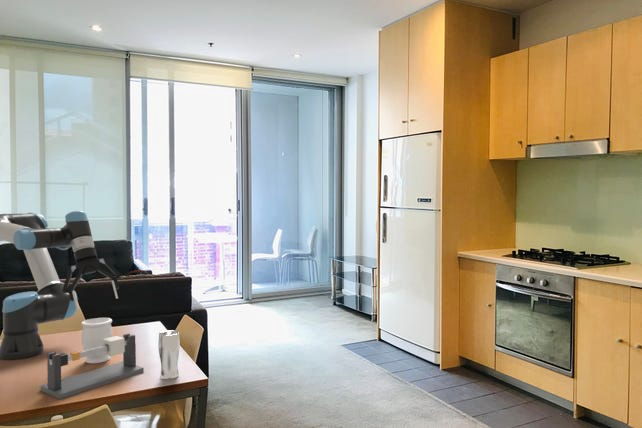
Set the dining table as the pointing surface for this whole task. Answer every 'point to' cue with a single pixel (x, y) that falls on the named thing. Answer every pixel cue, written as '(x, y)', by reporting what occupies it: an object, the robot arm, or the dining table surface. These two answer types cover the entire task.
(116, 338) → the sleeve
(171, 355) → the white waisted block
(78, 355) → the guide rod
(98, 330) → the jar
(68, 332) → the dining table surface
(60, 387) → the rod support stand
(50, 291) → the robot arm
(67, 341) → the dining table surface
